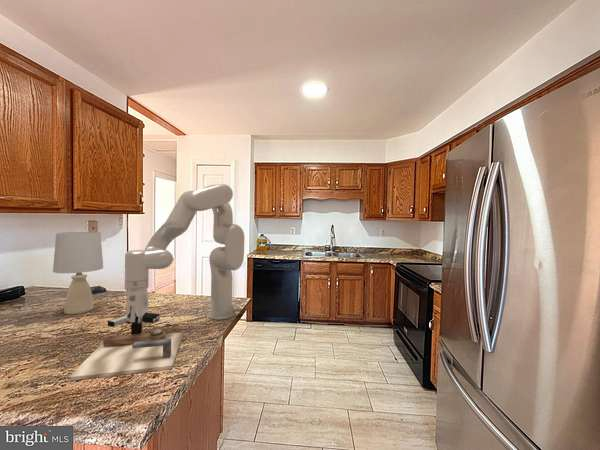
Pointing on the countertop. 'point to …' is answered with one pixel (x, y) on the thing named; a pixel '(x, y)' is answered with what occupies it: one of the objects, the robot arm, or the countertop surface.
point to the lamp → (78, 266)
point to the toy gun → (145, 318)
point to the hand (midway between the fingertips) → (136, 333)
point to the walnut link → (132, 338)
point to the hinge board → (130, 357)
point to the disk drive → (97, 289)
